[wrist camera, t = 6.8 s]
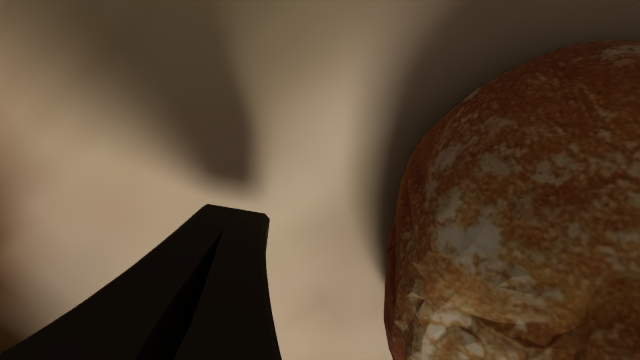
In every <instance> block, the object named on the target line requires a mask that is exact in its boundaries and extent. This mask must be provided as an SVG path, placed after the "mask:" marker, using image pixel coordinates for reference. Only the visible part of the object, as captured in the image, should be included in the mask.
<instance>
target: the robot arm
mask: <svg viewBox="0 0 640 360" xmlns="http://www.w3.org/2000/svg"><path fill="white" fill-rule="evenodd" d="M269 221H270V219H269V218H268V217H267V215H266V214H264V213H258V212H252V211H246V210H240V209H234V208H228V207H222V206H216V205H210V204H207V205H205V206H203V207H202V208H201V209H200V210H198V211H197V212H196V213H195V214H194V215H193V216H192V217H191V218H189V219H188V220H187V221H186V222H185V223H184V224H183V225H181V226H180V227H179V228H178V229H177V230H176V231H174V232H173V233H172V234H171V235H170V236H169V237H167V238H166V239H165V240H164V241H163V242H161V243H160V244H159V245H158V246H157V247H155V248H154V249H153V250H152V251H150V252H149V253H148V254H147V255H145V256H144V257H143V258H142V259H140V260H139V261H138V262H137V263H135V264H134V265H133V266H131V267H130V268H129V269H128V270H126V271H125V272H124V273H122V274H121V275H120V276H118V277H117V278H115V279H114V280H113V281H111V282H110V283H108V284H107V285H106V286H104V287H103V288H102V289H100V290H99V291H97V292H96V293H95V294H93V295H92V296H91V297H89V298H88V299H86V300H85V301H83V302H82V303H81V304H79V305H78V306H76V307H75V308H73V309H72V310H70V311H69V312H67V313H66V314H64V315H63V316H61V317H60V318H58V319H56V320H55V321H53V322H52V323H50V324H49V325H47V326H45V327H44V328H42V329H41V330H39V331H37V332H36V333H34V334H33V335H31V336H29V337H28V338H26V339H25V340H23V341H21V342H20V343H18V344H16V345H15V346H13V347H11V348H9V349H8V350H6V351H4V352H2V353H1V354H0V360H282V359H281V354H280V350H279V346H278V341H277V336H276V331H275V326H274V321H273V316H272V310H271V303H270V297H269V288H268V279H267V270H266V246H267V238H268V230H269Z"/></svg>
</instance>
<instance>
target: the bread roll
mask: <svg viewBox="0 0 640 360" xmlns="http://www.w3.org/2000/svg"><path fill="white" fill-rule="evenodd" d="M386 254H387V266H388V268H387V273H386V280H385V300H384V324H385V329H386V335H387V340H388V346H389V350H390V352H391V354H392V358H393V360H640V41H628V40H615V41H596V42H588V43H581V44H573V45H570V46H567V47H564V48H561V49H558V50H555V51H552V52H550V53H547V54H544V55H542V56H539V57H537V58H535V59H533V60H530V61H528V62H526V63H523V64H521V65H519V66H517V67H514V68H512V69H510V70H508V71H506V72H504V73H502V74H500V75H498V76H497V77H495V78H494V79H492V80H491V81H489V82H487V83H486V84H484V85H483V86H481V87H479V88H478V89H476V90H475V91H473V92H472V93H470V94H469V95H468V96H466V97H465V98H464V99H463V100H462V101H461V102H459V103H458V104H457V105H456V106H455V107H453V108H452V109H451V110H450V111H449V112H448V113H447V114H446V115H445V116H444V117H443V118H442V119H441V120H440V121H439V122H438V123H437V124H435V125H434V126H433V127H432V128H431V129H430V130H429V131H428V132H427V133H426V134H425V135H424V136H423V137H422V138H421V140H420V141H419V143H418V144H417V146H416V147H415V149H414V150H413V152H412V153H411V155H410V157H409V160H408V162H407V165H406V169H405V172H404V174H403V176H402V179H401V182H400V186H399V195H398V197H397V205H396V216H395V219H394V222H393V225H392V228H391V231H390V235H389V239H388V245H387V250H386Z"/></svg>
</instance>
